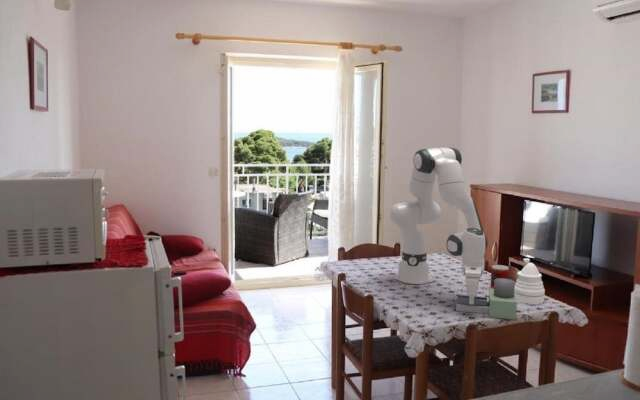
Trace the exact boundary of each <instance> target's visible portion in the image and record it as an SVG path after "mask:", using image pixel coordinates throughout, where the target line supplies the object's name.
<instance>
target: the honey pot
mask: <svg viewBox="0 0 640 400" xmlns="http://www.w3.org/2000/svg"><path fill="white" fill-rule="evenodd" d="M530 261H531V259H530V258H523V263H524V264H525V265H524V266H523V268H522V269H521V270H519V271H517V272H516V273H517V276H518V277H517V278H516V281H515V290H514V292H515V296H516V301H519V302H518V303H520V302H523V303H522V304H524V303H529V304H528V305H533V304H535V305H540V304H539V303H542V304H544V303H545V292H546V290H545V287H544V281H542V277H543V275H542V273H540V272H539V270H538V268H537V266H536V264H534V263H533V262H530ZM543 302H544V303H543Z"/></svg>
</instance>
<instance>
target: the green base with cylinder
mask: <svg viewBox="0 0 640 400" xmlns="http://www.w3.org/2000/svg"><path fill="white" fill-rule="evenodd" d="M515 284H516V281H515V280H513V279H511V278H510V279H509V278H508V279H505V278H498V279H495V280H494V289H491V287H490V288H489V290H488V292H489V293H488V300H487V307H484V306H473V305H462V304H457V303H456V305H455V307H456V308H455V311H456V312H465V313H475V314H486V315H488V317H489V318H496V319H503V320H505V319H506V320H517V309H518V308H517V307H518V306H517V305H518V303H517V301H516V296H515V292H514V290H515Z"/></svg>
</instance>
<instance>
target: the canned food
mask: <svg viewBox="0 0 640 400" xmlns="http://www.w3.org/2000/svg"><path fill="white" fill-rule="evenodd" d="M509 271H510V269H509V266H507V265H502V264H494V265H492V266H491V271H490V273H491V274H490V289H494V280H495V279H498V278H505V279H509V276H510V275H509Z"/></svg>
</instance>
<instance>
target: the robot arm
mask: <svg viewBox="0 0 640 400" xmlns="http://www.w3.org/2000/svg"><path fill="white" fill-rule="evenodd" d="M412 161H413V162H412V163H413V167H412V168H413V169H412V172H411V175H410V182H409V187H408V191H409V193H410V194H411V195H412V196H413V197H414V198H417V199H416V201H408V202H407V201H404V202H399V203H395V204H393V205H392V206H391V208H390V211H389V217H390V219H391V222H393V224H394V225H396V226H397V227H398V229H399V230H400V232H401V235H402V251H401V261H399V262H398V267H397V268H398V271H397V274H396V275H395V276H394V280H397V281H399V282H402V283H405V284H412V285H422V284H423V285H424V284H427V283H433V282H434V280H433V279H434V278H433V277H432V275H431V271H430V265H429V263H428V262H427V258H428V255H427V237H426V236H425V234H424V233H423V232H421V231H419V230H418V229H417V225H430V224H434V223H437V222H438V221H439V220H440V219H441V216H442V209H441V207H440V205H439V204H438V203H437V202H436V201H435V200H434V196H433V192H434V187H435V186H434V185H435V182H436V177H437V184H438V191H439V196H440V198H441V200H442V201H443V202H444V203H445V204H447V205H449V206H451V207H455V208H456V209H459V210H460V211H461V212H462V213H463V215H464V218H465V220H466V221H465V222H466V223H467V228H466V229H465V230H463V231H461V232H457V233H453V234H450V235H449V236H448V237H447V239H446V249H447V252H448V253H449V254H450V255H452V256H454V257H462V264H461V272H462V273H463V275H464V277H465V283H466V284H465V285H466V294H467V295H466V296H469V304H472V305H473V304H474V297H475V296H478V290H479V284H480V278H482V276H483V275H484V274H485V265H486V264H485V263H486V261H485V258H484V257H485V253H486V250H487V249H488V246H489V243H488V242H489V241H488V238H487V236H486V234H485V232H484V228H483V225H482V222H481V218H480V216H479V211H478V209H477V205H476V202H475V200H474V198H473V196H471V195H470V193H469V192H468V189H467V186H466V182H465V181H466V180H465V177H464V173H463V169H462V166H461V165H462V162H463V159H462V154H461V152H460V150H459V149H457V148H454V147H433V148H422V149H418V150H417V151H416V152H415V154H414V156H413V160H412Z"/></svg>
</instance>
